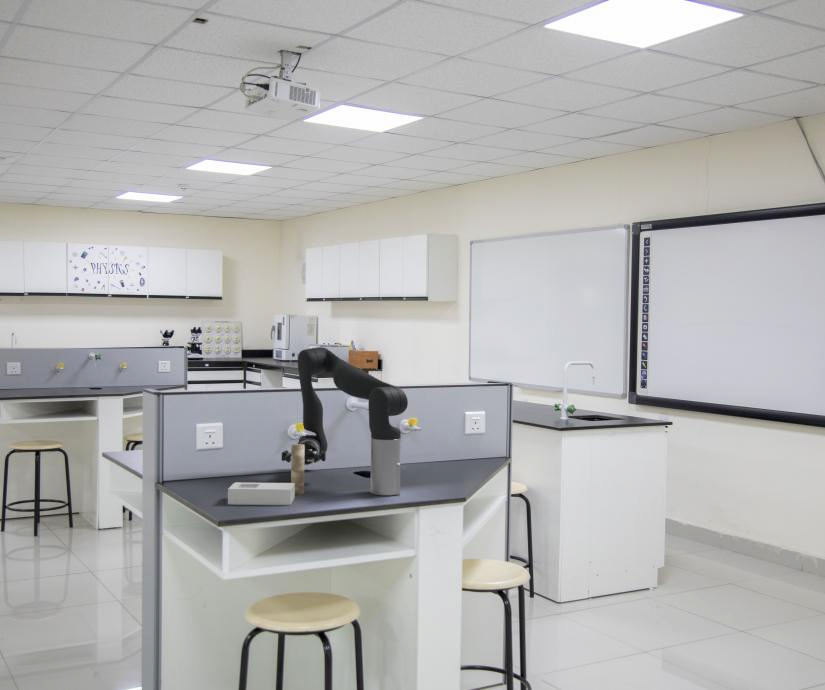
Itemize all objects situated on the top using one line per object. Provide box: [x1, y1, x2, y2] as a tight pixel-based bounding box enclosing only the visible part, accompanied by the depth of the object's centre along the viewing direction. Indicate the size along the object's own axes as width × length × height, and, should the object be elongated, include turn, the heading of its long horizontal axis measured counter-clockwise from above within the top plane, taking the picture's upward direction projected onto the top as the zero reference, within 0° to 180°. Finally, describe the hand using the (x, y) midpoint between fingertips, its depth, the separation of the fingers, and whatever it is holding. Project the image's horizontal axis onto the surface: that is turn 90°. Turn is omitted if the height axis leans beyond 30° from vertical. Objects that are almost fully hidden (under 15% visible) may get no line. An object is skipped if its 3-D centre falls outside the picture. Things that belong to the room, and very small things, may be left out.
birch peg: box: [290, 443, 305, 496], centre depth 260 cm, size 4×4×15 cm
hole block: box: [227, 481, 295, 506], centre depth 248 cm, size 18×10×4 cm, turn 91°
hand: (301, 459), depth 270 cm, fingers open, 8 cm apart
